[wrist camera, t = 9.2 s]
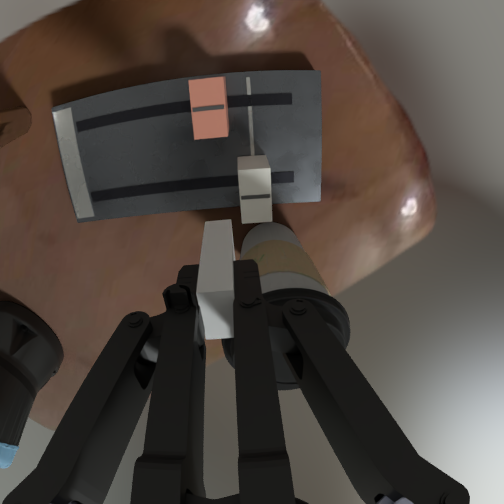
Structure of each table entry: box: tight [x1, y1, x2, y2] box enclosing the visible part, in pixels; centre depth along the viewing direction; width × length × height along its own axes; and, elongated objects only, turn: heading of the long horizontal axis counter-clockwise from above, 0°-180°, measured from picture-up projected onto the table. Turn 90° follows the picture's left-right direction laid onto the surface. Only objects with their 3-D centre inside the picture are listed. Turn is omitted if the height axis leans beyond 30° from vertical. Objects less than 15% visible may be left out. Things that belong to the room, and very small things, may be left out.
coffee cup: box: [222, 222, 350, 390], centre depth 27 cm, size 9×9×15 cm
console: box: [52, 70, 322, 223], centre depth 27 cm, size 24×12×2 cm, turn 93°
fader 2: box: [238, 155, 272, 224], centre depth 26 cm, size 2×4×4 cm, turn 3°
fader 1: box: [188, 77, 229, 140], centre depth 22 cm, size 2×4×4 cm, turn 3°
